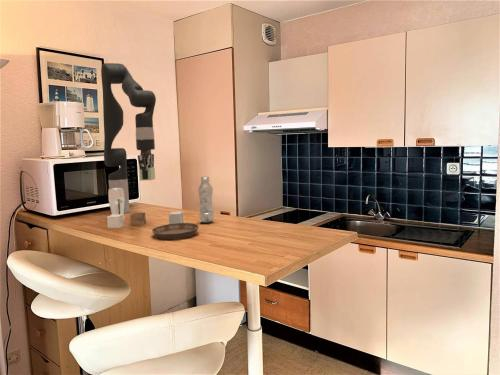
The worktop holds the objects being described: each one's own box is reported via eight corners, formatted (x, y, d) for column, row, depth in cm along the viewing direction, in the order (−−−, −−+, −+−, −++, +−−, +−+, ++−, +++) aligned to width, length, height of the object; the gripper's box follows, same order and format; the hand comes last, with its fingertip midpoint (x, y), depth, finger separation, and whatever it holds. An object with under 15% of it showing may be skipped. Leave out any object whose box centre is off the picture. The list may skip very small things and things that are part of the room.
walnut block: (135, 223, 176) (134, 212, 175) (146, 223, 176) (145, 212, 175) (130, 226, 171) (130, 214, 170) (142, 225, 171) (141, 214, 170)
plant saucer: (153, 243, 141) (152, 234, 141) (151, 232, 158) (151, 225, 158) (202, 238, 146) (201, 230, 145) (195, 228, 163) (195, 221, 162)
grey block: (172, 223, 175) (171, 211, 174) (183, 222, 174) (183, 211, 174) (169, 225, 170) (168, 214, 169) (180, 225, 169) (180, 213, 169)
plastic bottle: (215, 220, 176) (213, 176, 174) (212, 224, 169) (210, 177, 167) (201, 221, 177) (199, 176, 174) (197, 224, 170) (195, 178, 168)
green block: (143, 179, 171) (143, 167, 171) (155, 179, 171) (154, 167, 170) (139, 180, 166) (139, 168, 166) (151, 180, 166) (150, 168, 165)
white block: (112, 225, 173) (112, 214, 172) (123, 225, 172) (123, 214, 172) (107, 228, 168) (107, 216, 167) (119, 228, 167) (118, 216, 167)
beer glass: (116, 222, 178) (113, 190, 177) (107, 221, 183) (104, 189, 181) (129, 220, 184) (126, 188, 182) (120, 218, 188) (117, 187, 186)
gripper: (142, 138, 174) (144, 177, 176) (130, 138, 160) (132, 180, 162) (159, 138, 173) (161, 176, 175) (148, 138, 159) (150, 180, 161)
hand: (147, 178), depth 168 cm, fingers closed on green block, 5 cm apart
